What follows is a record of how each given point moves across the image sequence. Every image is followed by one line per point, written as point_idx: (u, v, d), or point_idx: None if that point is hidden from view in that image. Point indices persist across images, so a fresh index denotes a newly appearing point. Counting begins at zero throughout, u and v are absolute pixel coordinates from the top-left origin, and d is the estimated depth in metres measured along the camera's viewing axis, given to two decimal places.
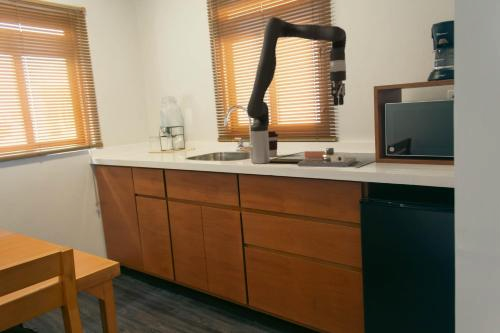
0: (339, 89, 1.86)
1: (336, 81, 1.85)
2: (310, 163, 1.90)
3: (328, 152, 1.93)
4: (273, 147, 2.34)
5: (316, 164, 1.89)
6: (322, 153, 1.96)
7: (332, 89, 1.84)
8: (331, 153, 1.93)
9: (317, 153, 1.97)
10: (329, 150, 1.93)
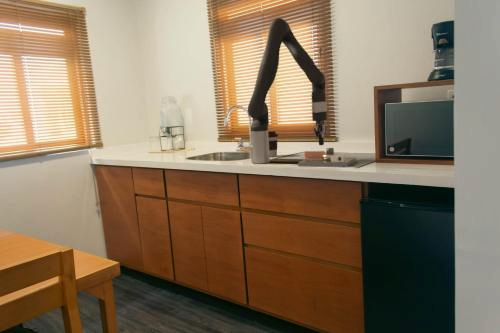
0: (322, 130, 2.00)
1: (318, 121, 1.99)
2: (310, 163, 1.90)
3: (328, 152, 1.93)
4: (273, 147, 2.34)
5: (316, 164, 1.89)
6: (322, 153, 1.96)
7: (316, 133, 1.99)
8: (331, 153, 1.93)
9: (317, 153, 1.97)
10: (329, 150, 1.93)
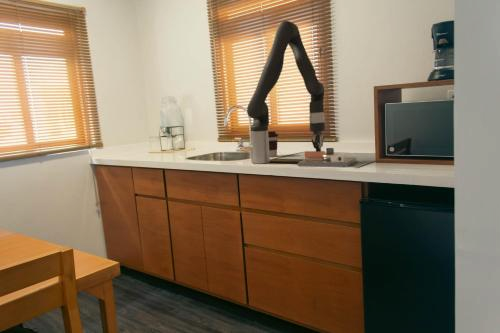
0: (319, 141, 1.98)
1: (315, 132, 1.96)
2: (310, 163, 1.90)
3: (328, 152, 1.93)
4: (273, 147, 2.34)
5: (316, 164, 1.89)
6: (322, 153, 1.96)
7: (313, 144, 1.96)
8: (331, 153, 1.93)
9: (317, 153, 1.97)
10: (329, 150, 1.93)
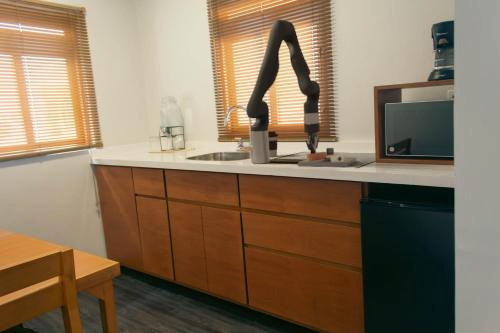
0: (314, 143, 1.91)
1: (310, 133, 1.89)
2: (310, 163, 1.90)
3: (331, 152, 1.93)
4: (273, 147, 2.34)
5: (316, 164, 1.89)
6: (324, 154, 1.93)
7: (308, 145, 1.90)
8: (333, 153, 1.94)
9: (320, 154, 1.92)
10: (332, 150, 1.93)
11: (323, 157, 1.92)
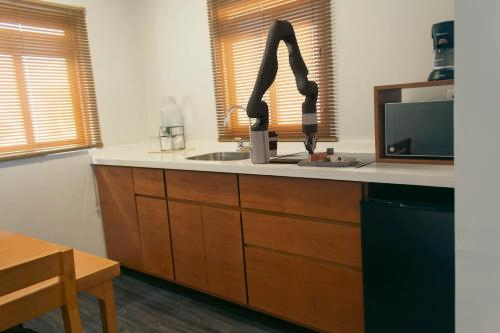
0: (312, 143, 1.89)
1: (308, 134, 1.87)
2: (310, 163, 1.90)
3: (332, 152, 1.93)
4: (273, 147, 2.34)
5: (316, 164, 1.89)
6: (325, 154, 1.92)
7: (306, 146, 1.88)
8: (333, 153, 1.94)
9: (321, 154, 1.91)
10: (332, 150, 1.93)
11: (324, 157, 1.92)
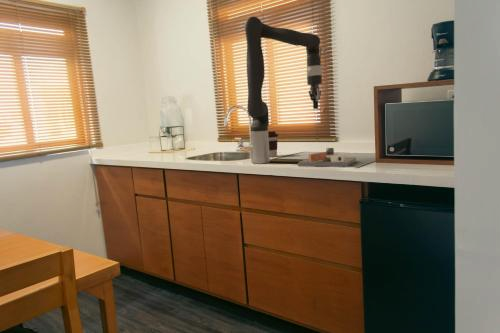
0: (316, 94, 2.05)
1: (312, 84, 2.03)
2: (310, 163, 1.90)
3: (332, 152, 1.93)
4: (273, 147, 2.34)
5: (316, 164, 1.89)
6: (325, 154, 1.92)
7: (311, 96, 2.04)
8: (333, 153, 1.94)
9: (321, 154, 1.91)
10: (332, 150, 1.93)
11: (324, 157, 1.92)
